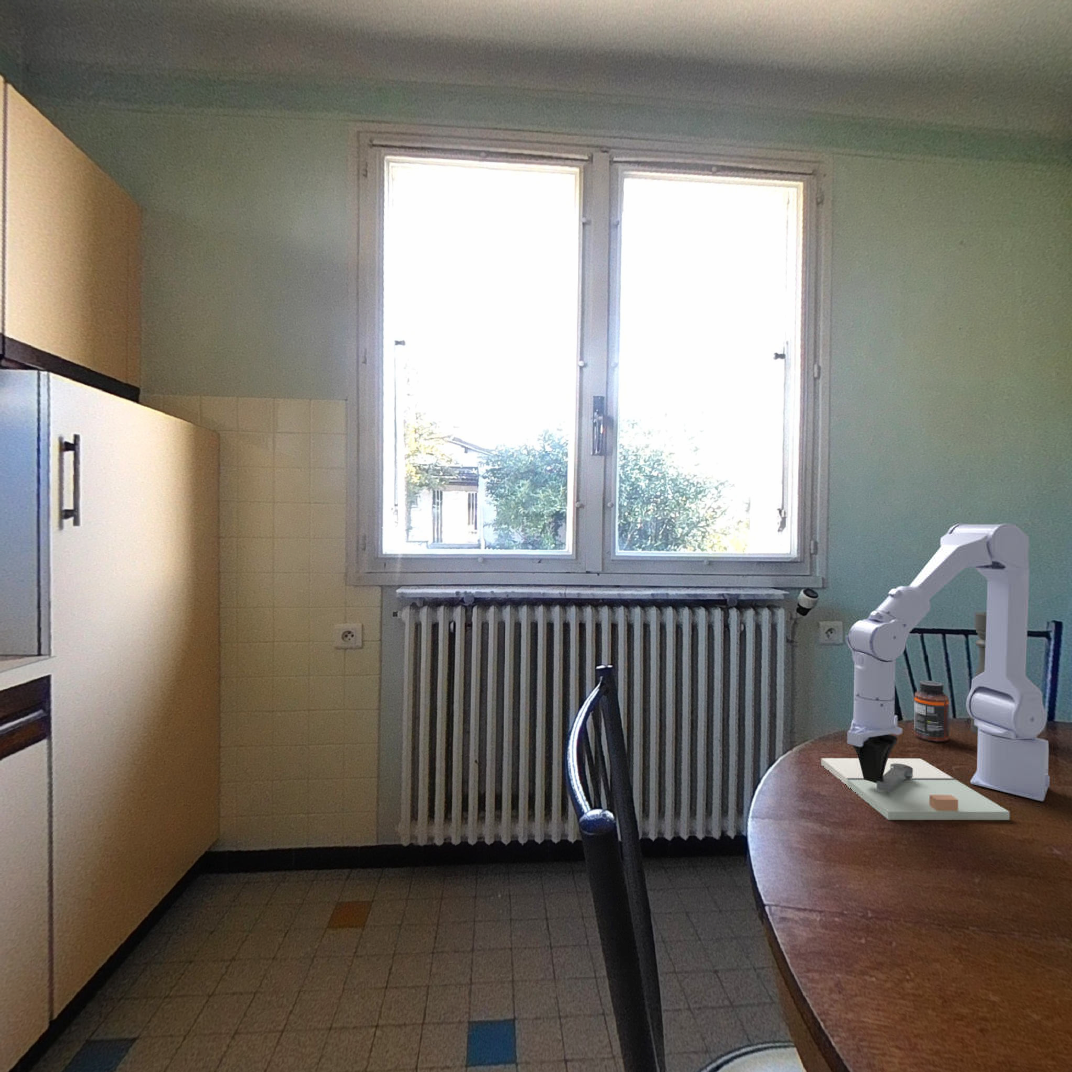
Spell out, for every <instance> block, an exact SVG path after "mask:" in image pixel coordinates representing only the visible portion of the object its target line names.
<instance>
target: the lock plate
mask: <svg viewBox="0 0 1072 1072" xmlns="http://www.w3.org/2000/svg"><path fill="white" fill-rule="evenodd" d="M820 760H821V762H820V763H821V764H820V765H821V766H822V767H823V766H824V767H823V768H824V769H826V770H827V771H828V770H829V771H828V772H830V773H831V774H832V775H833V776H834V777H836V778H837V779H838V780H839V779H840V780H841V781H840V780H839V781H840V782H842V783H843V784H844V785H845V784H846V785H847V787H848V788H849V789H850V788H851V789H852V792H853V793H855V792H856V793H855V794H856V795H857V794H858V795H857V796H859V797H860V798H861V799H862V800H864V801H865V802H866V803H867V804H868V803H869V804H868V805H870V806H871V807H872V808H873V809H875V810H876V811H877V812H878V813H880V815H882V816H883V817H884V818H886V819H887V820H889V821H895V820H896V821H897V820H898V821H899V820H902V821H903V820H904V821H911V820H914V821H917V820H918V821H925V820H926V821H935V820H936V821H942V820H943V821H948V820H949V821H952V820H953V821H960V820H961V821H964V820H965V821H966V820H967V821H1010V818H1011V817H1010V811H1009V810H1008V809H1006V808H1004V807H1002V806H1000V805H999V804H997V803H996V802H994V801H992V800H991V799H990V798H988V797H985V796H984V795H982V794H980V793H979V792H977V791H976V790H974V789H972V788H970V787H969V786H967V785H966V784H964V783H962V782H960V781H959V780H957V779H956V778H954V777H952V776H951V775H949V774H947V773H945V772H944V771H942V770H940V769H938V768H937V767H935V766H934V765H932V764H930V763H929V762H927V761H926V760H923V759H922V758H896V757H895V758H890V757H888V760H887V763H886V767H885V770H884V774H885V773H887V772H888V771H889V770H890V765H891V764H894V763H898V764H904V765H907V766H910V767H912V768H913V777H912V778H906V779H905V780H904V781H903V782H902V783H901V784H899V785H898V786H897V787H896V788H895V789H894V790H893V791H892V792H887V791H884V790H880V789H877V783H874V782H870V781H867V780H864V778H863V774H862V770H861V766H860V762H859V758H858V757H857V758H856V757H855V758H853V757H852V758H849V757H848V758H847V757H844V758H843V757H841V758H840V757H839V758H838V757H837V758H834V757H830V758H829V757H828V758H826V757H823V758H821V759H820ZM884 774H883V775H884ZM846 785H845V786H846ZM851 789H850V790H851Z"/></svg>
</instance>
